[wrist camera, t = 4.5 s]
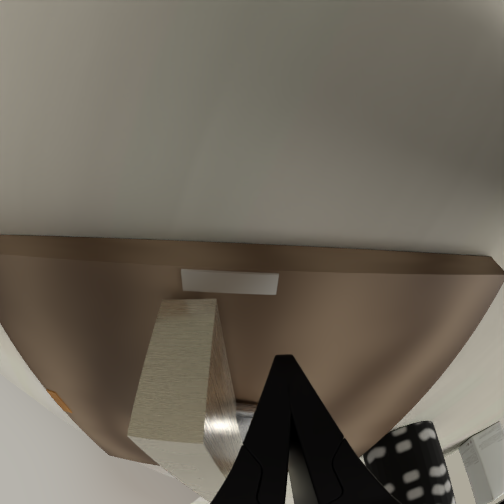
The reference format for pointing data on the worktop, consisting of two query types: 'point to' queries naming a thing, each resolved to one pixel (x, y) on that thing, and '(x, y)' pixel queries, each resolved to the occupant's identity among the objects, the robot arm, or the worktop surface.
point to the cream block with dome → (189, 398)
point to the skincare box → (485, 463)
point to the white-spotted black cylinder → (411, 465)
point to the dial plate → (241, 321)
